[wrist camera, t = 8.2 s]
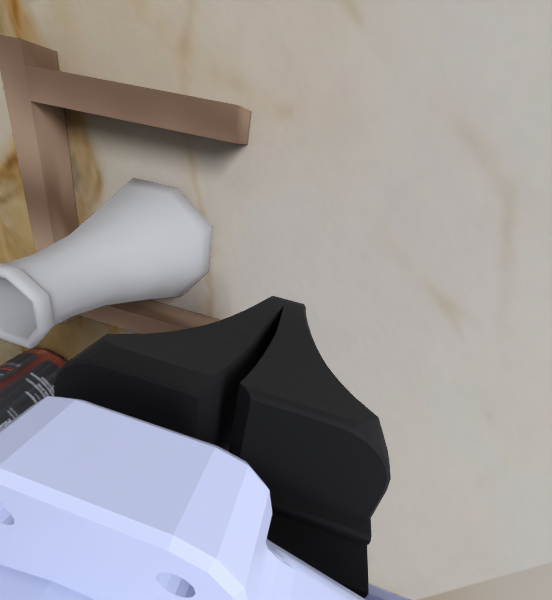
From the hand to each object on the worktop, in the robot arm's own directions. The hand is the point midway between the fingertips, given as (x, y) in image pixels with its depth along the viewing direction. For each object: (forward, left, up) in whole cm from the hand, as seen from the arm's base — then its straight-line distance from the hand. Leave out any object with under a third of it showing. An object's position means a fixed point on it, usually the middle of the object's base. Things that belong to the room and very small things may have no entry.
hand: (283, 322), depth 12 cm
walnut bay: (0, +10, -7) cm, 12 cm away
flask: (-1, +9, -7) cm, 12 cm away
